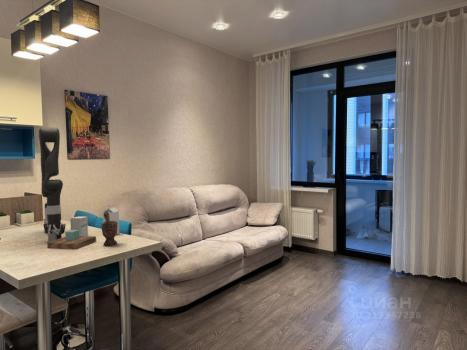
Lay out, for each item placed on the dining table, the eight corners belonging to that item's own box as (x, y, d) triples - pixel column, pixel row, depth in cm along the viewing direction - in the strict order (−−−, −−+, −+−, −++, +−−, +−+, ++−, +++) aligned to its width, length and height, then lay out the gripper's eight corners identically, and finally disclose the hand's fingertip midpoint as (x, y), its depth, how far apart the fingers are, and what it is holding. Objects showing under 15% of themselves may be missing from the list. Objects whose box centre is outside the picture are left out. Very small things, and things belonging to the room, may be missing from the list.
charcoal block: (48, 242, 197) (48, 234, 197) (54, 240, 202) (54, 232, 202) (55, 242, 196) (55, 234, 196) (61, 240, 201) (61, 232, 201)
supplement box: (81, 238, 206) (80, 218, 205) (70, 238, 207) (69, 218, 207) (88, 235, 213) (87, 216, 212) (78, 235, 215) (77, 216, 214)
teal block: (65, 240, 189) (65, 231, 188) (71, 238, 193) (71, 229, 193) (73, 240, 188) (73, 232, 187) (79, 238, 192) (78, 230, 192)
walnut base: (47, 248, 184) (47, 242, 184) (69, 240, 201) (69, 235, 201) (75, 249, 180) (75, 244, 180) (96, 241, 198) (95, 236, 197)
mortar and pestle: (119, 246, 185) (118, 211, 184) (103, 248, 181) (102, 212, 180) (116, 242, 195) (116, 208, 194) (101, 244, 191) (100, 209, 190)
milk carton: (119, 233, 219) (118, 204, 218) (114, 235, 212) (113, 206, 211) (109, 233, 219) (108, 204, 218) (103, 235, 212) (102, 206, 211)
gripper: (38, 213, 196) (40, 241, 197) (59, 214, 193) (60, 242, 194) (48, 211, 203) (49, 238, 204) (68, 212, 200) (69, 239, 201)
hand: (55, 240), depth 199 cm, fingers closed on charcoal block, 5 cm apart
